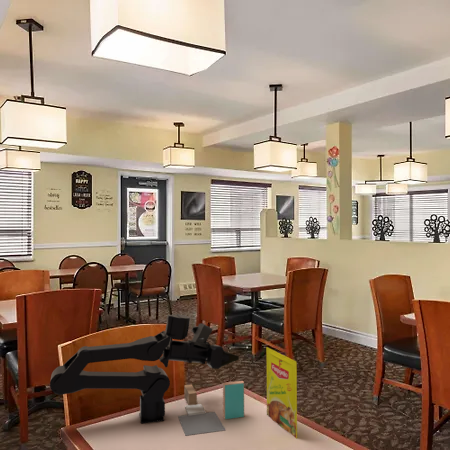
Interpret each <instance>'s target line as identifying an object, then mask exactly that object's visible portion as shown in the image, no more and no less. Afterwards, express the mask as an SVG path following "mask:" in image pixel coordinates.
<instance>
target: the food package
mask: <svg viewBox="0 0 450 450" xmlns="http://www.w3.org/2000/svg"><path fill="white" fill-rule="evenodd" d="M265 352H266V416H268V417H269V418H270V419H271V420H272V421H274V423H276V424H277V425H279V426H280V427H281V428H282V429H284V431H286V432H287V433H289V434H290V435H292V436H293V437H294V438H295V439H298V398H297V396H298V393H297V391H298V390H297V389H298V387H297V385H298V382H297V380H298V377H297V376H298V375H297V374H298V373H297V371H298V368H297V360H294V359H291V358H290V357H288V356H286V355H284V354H281V353H279V352H277V351H276V350H274V349H272V348H269V347H268V346H266V351H265Z"/></svg>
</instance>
